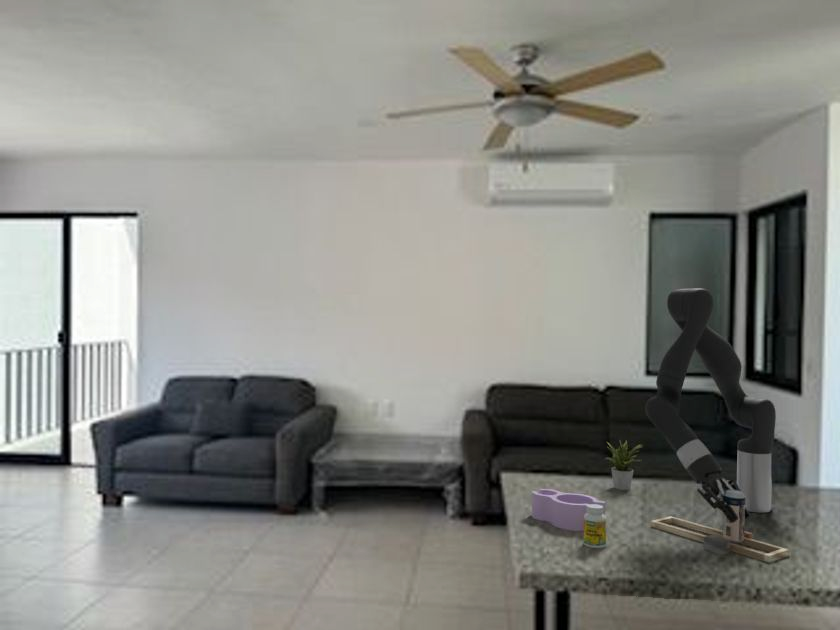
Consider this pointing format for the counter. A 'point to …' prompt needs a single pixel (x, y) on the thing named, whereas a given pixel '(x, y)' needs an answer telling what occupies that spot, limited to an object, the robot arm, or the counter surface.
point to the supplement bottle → (594, 527)
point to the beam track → (721, 540)
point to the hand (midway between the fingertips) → (741, 519)
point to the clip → (562, 508)
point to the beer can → (737, 503)
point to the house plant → (622, 466)
